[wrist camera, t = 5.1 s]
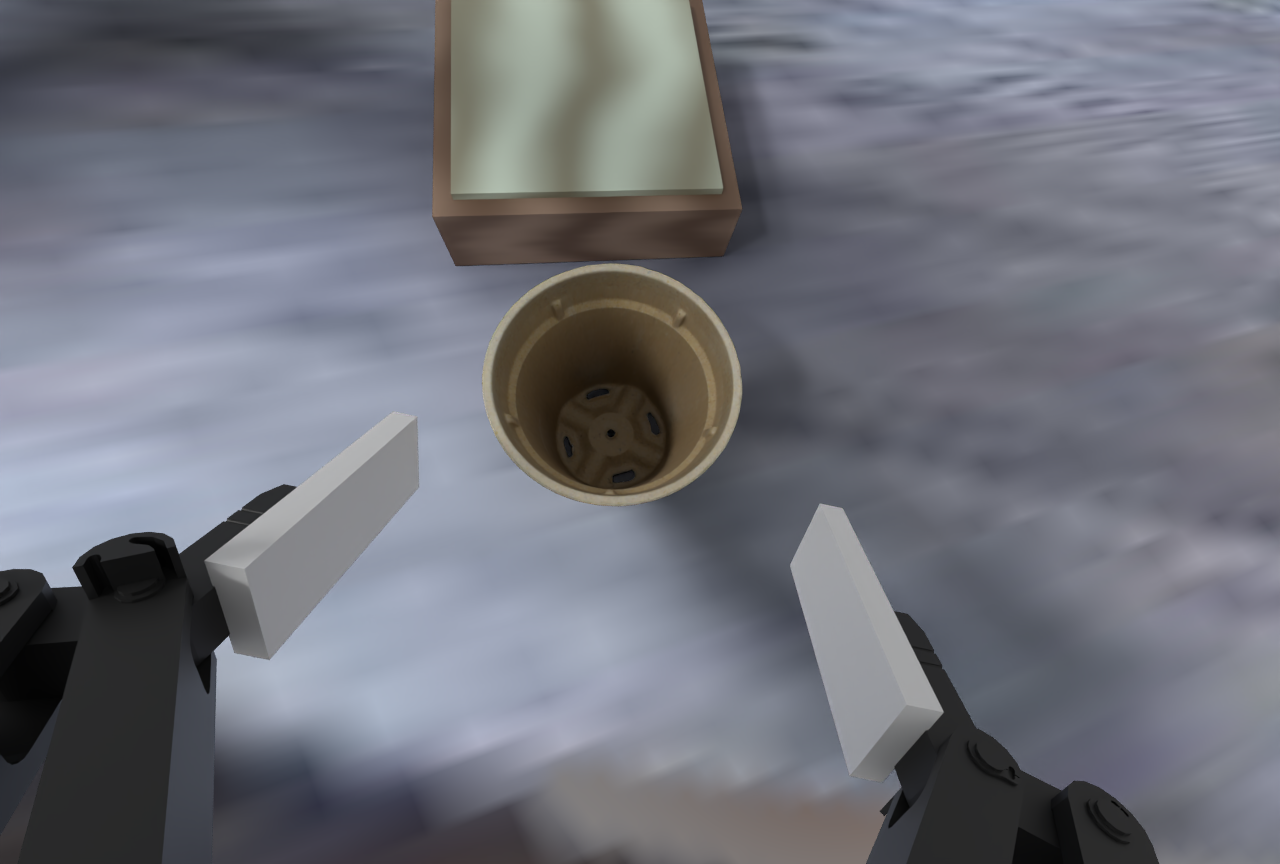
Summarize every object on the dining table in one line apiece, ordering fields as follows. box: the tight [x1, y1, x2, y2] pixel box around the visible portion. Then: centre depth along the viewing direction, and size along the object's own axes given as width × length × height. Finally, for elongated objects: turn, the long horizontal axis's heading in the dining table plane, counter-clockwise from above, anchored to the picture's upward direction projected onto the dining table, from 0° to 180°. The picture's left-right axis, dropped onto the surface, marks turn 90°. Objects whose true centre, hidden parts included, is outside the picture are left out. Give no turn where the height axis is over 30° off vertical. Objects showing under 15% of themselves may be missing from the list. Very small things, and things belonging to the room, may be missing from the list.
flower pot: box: [482, 263, 742, 506], centre depth 21 cm, size 9×9×9 cm
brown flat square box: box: [432, 0, 742, 266], centre depth 28 cm, size 16×16×4 cm
